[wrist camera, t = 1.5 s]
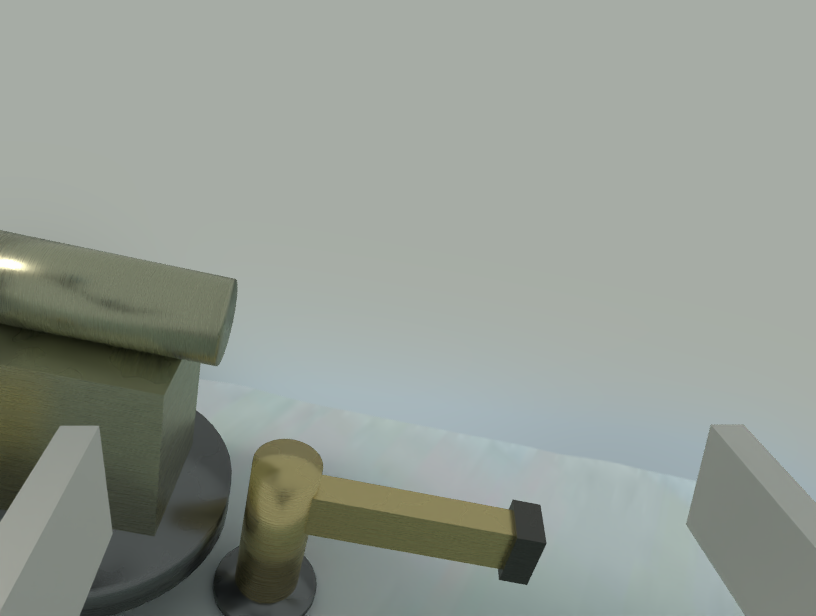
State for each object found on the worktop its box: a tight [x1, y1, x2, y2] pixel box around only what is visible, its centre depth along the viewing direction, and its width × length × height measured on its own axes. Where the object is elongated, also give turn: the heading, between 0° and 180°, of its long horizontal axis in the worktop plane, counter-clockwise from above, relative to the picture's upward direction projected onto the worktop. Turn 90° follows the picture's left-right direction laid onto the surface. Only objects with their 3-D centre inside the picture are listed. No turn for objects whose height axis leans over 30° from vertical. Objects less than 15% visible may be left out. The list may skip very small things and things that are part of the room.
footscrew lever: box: [235, 439, 546, 603], centre depth 37 cm, size 14×3×8 cm, turn 88°
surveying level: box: [0, 230, 316, 616], centre depth 34 cm, size 19×21×18 cm
